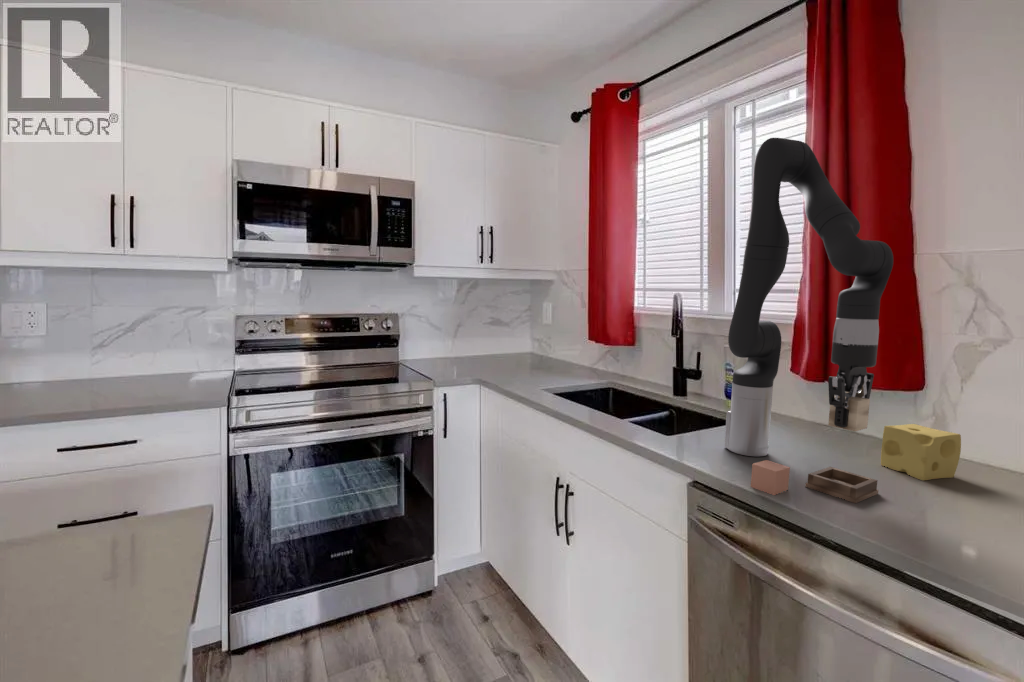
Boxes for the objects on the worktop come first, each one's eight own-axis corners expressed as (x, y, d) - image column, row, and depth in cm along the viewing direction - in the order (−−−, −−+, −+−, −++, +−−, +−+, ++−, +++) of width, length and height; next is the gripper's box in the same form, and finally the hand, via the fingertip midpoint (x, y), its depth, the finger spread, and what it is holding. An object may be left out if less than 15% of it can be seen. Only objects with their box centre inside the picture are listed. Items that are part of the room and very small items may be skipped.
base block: (828, 425, 104) (830, 396, 103) (840, 422, 106) (842, 394, 106) (855, 431, 100) (858, 401, 99) (867, 428, 102) (869, 398, 102)
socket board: (805, 486, 106) (806, 473, 105) (828, 478, 111) (829, 466, 111) (855, 503, 98) (857, 489, 98) (878, 493, 103) (879, 480, 103)
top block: (750, 487, 105) (752, 463, 105) (764, 482, 108) (766, 459, 107) (773, 495, 101) (775, 471, 100) (787, 491, 104) (789, 467, 103)
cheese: (923, 481, 111) (928, 437, 110) (876, 465, 121) (880, 424, 120) (958, 478, 113) (963, 434, 112) (909, 462, 124) (913, 421, 123)
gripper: (851, 338, 108) (844, 416, 110) (816, 340, 101) (809, 424, 102) (892, 342, 102) (884, 424, 104) (858, 344, 94) (850, 434, 96)
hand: (847, 424), depth 103 cm, fingers closed on base block, 5 cm apart
